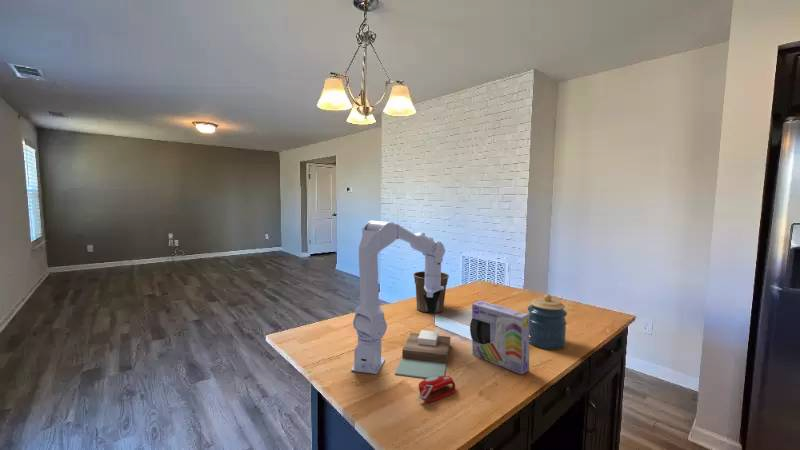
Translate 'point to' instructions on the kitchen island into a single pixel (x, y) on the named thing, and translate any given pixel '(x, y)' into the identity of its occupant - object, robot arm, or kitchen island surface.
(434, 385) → the tracker holder
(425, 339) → the tile
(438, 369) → the mat
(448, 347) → the board
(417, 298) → the plant pot
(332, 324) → the kitchen island surface
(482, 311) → the cake pan box
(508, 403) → the kitchen island surface
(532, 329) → the canister
